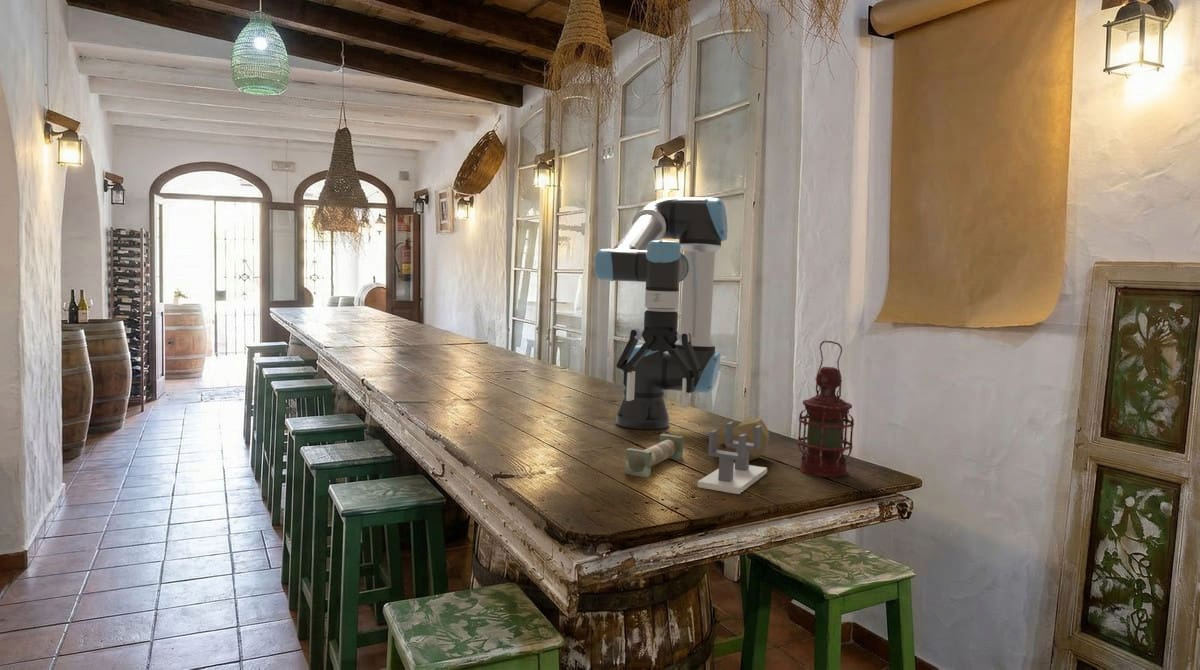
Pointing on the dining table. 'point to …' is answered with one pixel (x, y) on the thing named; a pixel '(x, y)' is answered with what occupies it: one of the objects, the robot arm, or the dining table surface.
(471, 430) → the dining table surface
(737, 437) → the low-poly potato
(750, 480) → the bracket
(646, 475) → the column
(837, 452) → the lantern
